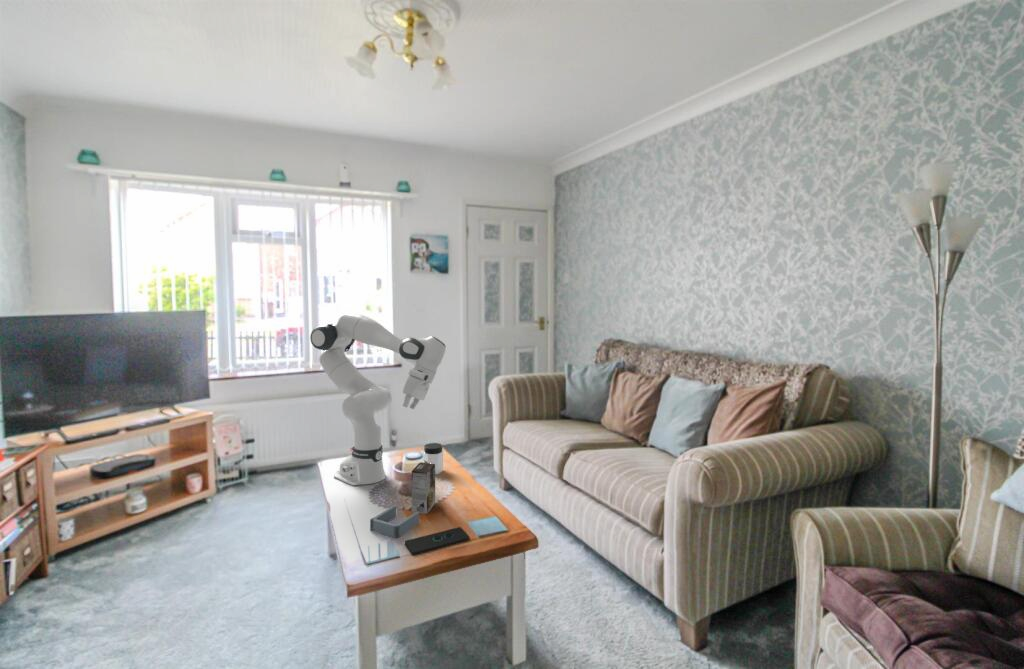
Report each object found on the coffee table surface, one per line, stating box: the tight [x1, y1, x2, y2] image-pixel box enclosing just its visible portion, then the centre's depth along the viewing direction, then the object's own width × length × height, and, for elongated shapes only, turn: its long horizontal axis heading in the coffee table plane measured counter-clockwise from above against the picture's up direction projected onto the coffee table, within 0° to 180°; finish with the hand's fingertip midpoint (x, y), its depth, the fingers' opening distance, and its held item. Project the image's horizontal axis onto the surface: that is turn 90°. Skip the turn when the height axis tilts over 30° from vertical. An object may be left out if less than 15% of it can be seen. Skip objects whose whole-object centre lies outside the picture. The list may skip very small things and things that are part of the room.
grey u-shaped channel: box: [369, 505, 420, 540], centre depth 169 cm, size 11×12×4 cm
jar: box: [422, 442, 444, 475], centre depth 220 cm, size 9×8×12 cm
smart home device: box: [404, 526, 471, 557], centre depth 160 cm, size 8×2×20 cm
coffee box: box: [411, 461, 436, 514], centre depth 184 cm, size 9×6×16 cm
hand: (408, 407), depth 194 cm, fingers open, 8 cm apart
